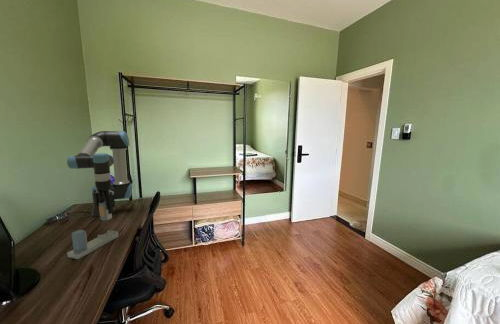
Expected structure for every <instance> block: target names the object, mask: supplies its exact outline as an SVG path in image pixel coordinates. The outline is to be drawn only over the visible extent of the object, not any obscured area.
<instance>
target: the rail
mask: <svg viewBox="0 0 500 324" xmlns="http://www.w3.org/2000/svg"><path fill="white" fill-rule="evenodd" d="M117 238H119V232H118V231H117V230H113V229H107V232H105V233H103V234H98V235H97V237H95V238H93V239H91V240H90V241H88V237H87V232H86V230H83V229H78V230H75V231H74V232H73V231H72V232H71V240H72V248H73V249H72V250H70V251H68V252H66V253H67V254H66V255H67V258H70V259H75V260H80V259H82V258H83V257H85V256H87V255H88V254H90V253H92V252H94V251H96V250H97V249H99V248H101V247H103V246H104V245H106V244H108V243H110V242H112V241H114V240H115V239H117Z"/></svg>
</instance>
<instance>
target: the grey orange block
mask: <svg viewBox="0 0 500 324" xmlns="http://www.w3.org/2000/svg"><path fill="white" fill-rule="evenodd" d="M106 209H107V205H106V201H105V202H102V203H99V212H100V217H99V219H100V220H101V221H108V220H107V214H106Z"/></svg>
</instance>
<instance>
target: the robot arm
mask: <svg viewBox="0 0 500 324" xmlns="http://www.w3.org/2000/svg"><path fill="white" fill-rule="evenodd" d="M129 146H130V139H129V134H128V133H127V132H126V131H122V130H118V131H117V130H107V131H106V130H100V131H98V132H94V133H93V134H91V135H90V136H89V137H87V139H86V142H85V145H83V146H82V148H81V149H80V150H79V152H78V153H77V154H76V155H70V156H68V157H67V159H66V163H67V167H68V168H69V169H73V170H74V169H77V170H78V169H93V173H94V186H93V187H92V188H91V194H92V204H93V205H92V210H91V216H92V217H94V218H100V212H99V203H102V202H105V201H106V205H107V209H106V214H107V220H106V221H108V220H111V219H112V218H113V214H114V213H115V212H116V210H115V209H116V208H115V207H116V206H115V204H116V203H115V201H116V200H125V199H130V198H131V197H132V193H133V184H132V183H130V180H129V179H128V169H127V158H126V157H127V156H126V154H127V153H126V150H128V147H129ZM101 147H109V149H110V150H111V151H112V155H111V154H109V153H106V152H102V153H101V152H100V153H97V152H98V150H99V149H100V148H101ZM112 166H113V174H114V175H113V176H114V181H113V182H112V180H111V168H110V167H112Z"/></svg>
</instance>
